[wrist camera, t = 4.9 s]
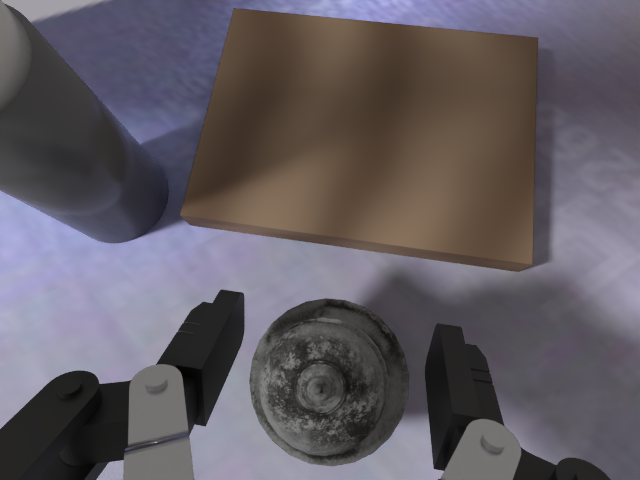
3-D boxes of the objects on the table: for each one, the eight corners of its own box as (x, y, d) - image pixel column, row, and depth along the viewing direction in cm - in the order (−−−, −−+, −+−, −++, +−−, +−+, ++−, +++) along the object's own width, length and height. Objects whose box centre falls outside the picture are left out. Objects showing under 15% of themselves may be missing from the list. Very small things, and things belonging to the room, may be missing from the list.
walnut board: (190, 225, 22) (179, 215, 20) (240, 28, 25) (233, 8, 23) (518, 271, 20) (532, 264, 19) (525, 57, 24) (537, 37, 22)
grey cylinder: (59, 235, 22) (-223, 104, 11) (89, 147, 23) (-135, -50, 12) (154, 249, 21) (-41, 127, 10) (178, 158, 23) (30, -34, 12)
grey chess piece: (349, 286, 20) (363, 182, 9) (423, 398, 19) (553, 448, 7) (241, 354, 20) (105, 338, 8) (309, 476, 18) (257, 665, 7)
